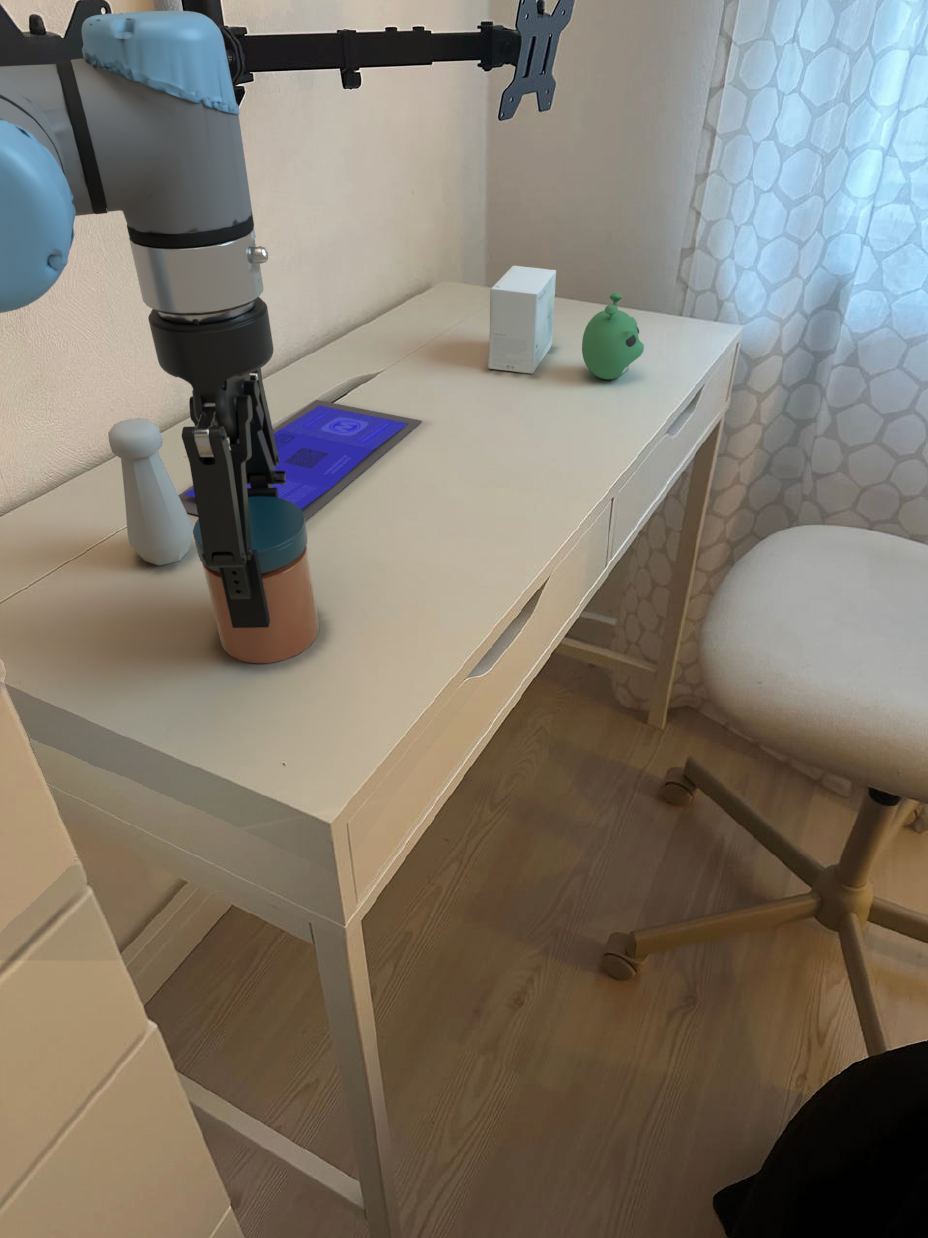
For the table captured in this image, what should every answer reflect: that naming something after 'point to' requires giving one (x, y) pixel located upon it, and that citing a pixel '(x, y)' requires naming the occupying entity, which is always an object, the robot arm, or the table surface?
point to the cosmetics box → (521, 319)
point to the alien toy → (611, 342)
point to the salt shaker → (150, 494)
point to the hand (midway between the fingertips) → (261, 589)
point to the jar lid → (270, 532)
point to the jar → (271, 615)
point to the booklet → (326, 451)
